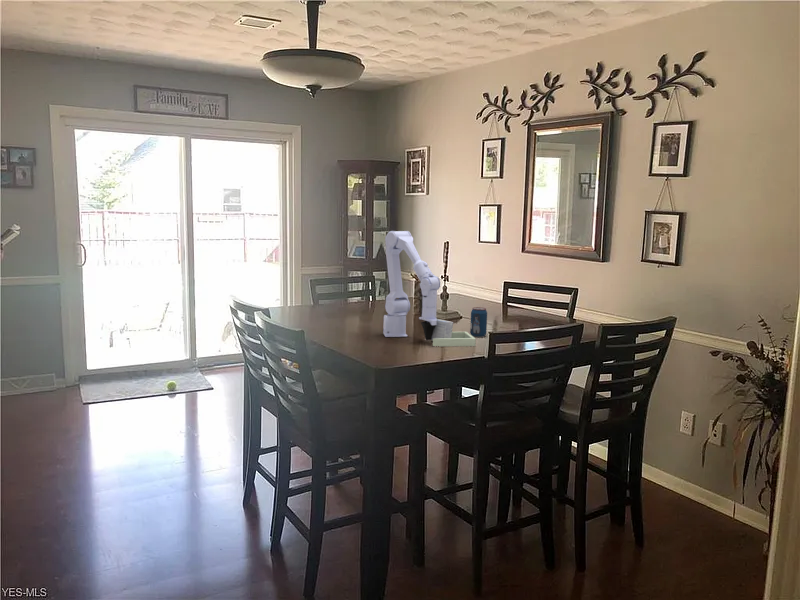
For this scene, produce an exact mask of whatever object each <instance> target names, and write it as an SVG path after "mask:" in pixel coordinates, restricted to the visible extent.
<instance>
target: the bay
mask: <svg viewBox="0 0 800 600" xmlns="http://www.w3.org/2000/svg"><path fill="white" fill-rule="evenodd" d="M476 344H477V337H473V336H472V335H471V333H469V332H468V331H452V336H451V338H433V340H432V347H433V346H435V347H436V346H437V347H438V346H439V347H476ZM437 347H436V348H437Z"/></svg>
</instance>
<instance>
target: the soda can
mask: <svg viewBox="0 0 800 600" xmlns="http://www.w3.org/2000/svg"><path fill="white" fill-rule="evenodd" d="M487 324H488V311H487V308H485V307H481V306H479V307H478V306H477V307H472V309H471V311H470V326H469V327H470V328H469V332H470V333H469V334H470V335H472V336H473V337H474V338H485V336H486V335H487V327H488V325H487Z"/></svg>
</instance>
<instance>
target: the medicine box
mask: <svg viewBox="0 0 800 600" xmlns="http://www.w3.org/2000/svg"><path fill="white" fill-rule="evenodd" d="M453 327H454V322H453V321H449V320H445V319H439V318H437V326H436V327H435V329H434V332H433V335H432V339H431V340H430V341H433V338H451V336H452V332H453Z"/></svg>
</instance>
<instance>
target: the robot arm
mask: <svg viewBox="0 0 800 600" xmlns="http://www.w3.org/2000/svg"><path fill="white" fill-rule="evenodd" d="M384 239H385V255H386V256H385V258H386V267H387V275H388V283H389V293H388V294H387V295H386V297H385V305H384V309H385V312H386V313H387V314H384V315H383V324H382V325H383V329H382V330H383V331H382V332H383V333H382V334H383V335H384V337H385V338H403V337H404V338H407V337H408V334H407V333H406V330H407V326H406V325H407V315H408V312H409V311H410V310H411V302H410V300H409V296H408V294H407V293H406V292H405V291H404V287H403V286H404V285H403V277H402V269H401V260H400V259H401V258H400V253H402V251H404V252H405V253H406V255H407V256H408V257H409V259H410V261H411V262H412V264H413V267H412V268H413V269H412V270H413V271H414V272H415V274H416V277H417V278H418V280H419V281H420V283H419V287H420V289H421V295H422V302H421V304H422V308H421V316H419V317H418V319H419V320H420V321H421V320H423V321H421V322H420V324H421V326H422V329H423V334H424V339H425V340H426V341H432V340H431V339H432V335H433V332H434V329H435V327H436V326H437V319H438V318H437V307H438V306H437V301H438V290H439V289H440V288H441V280H440V277H438V276H437V275H435V274H434V273H433V272H432V270H431V269H430V267H429V264H428V263H427V261H424V260H422V258H421V256H420V255H419V252H418V250H417V249H416V246H415V244H414V237H413V236H412V233H411V232H410V231H409V230H404V231H403V230H398V231H396V230H390V231H388V232H387V233H386V235H385V237H384Z"/></svg>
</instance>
